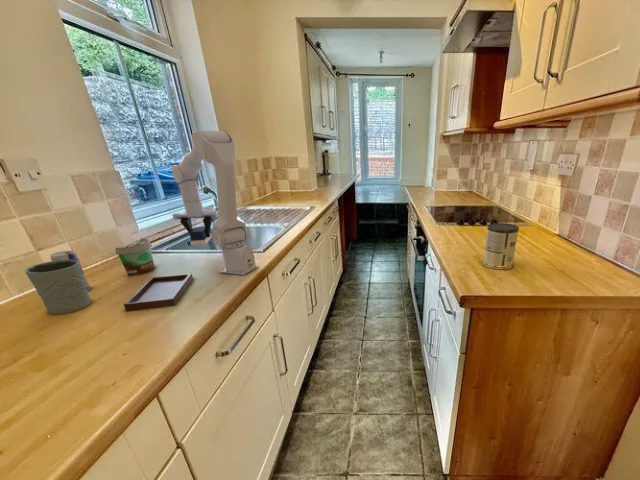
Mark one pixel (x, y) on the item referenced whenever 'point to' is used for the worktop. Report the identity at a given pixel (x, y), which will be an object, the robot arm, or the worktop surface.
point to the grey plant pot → (60, 285)
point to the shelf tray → (159, 292)
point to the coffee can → (500, 245)
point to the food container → (136, 257)
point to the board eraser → (199, 236)
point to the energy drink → (68, 256)
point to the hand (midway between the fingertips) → (201, 237)
